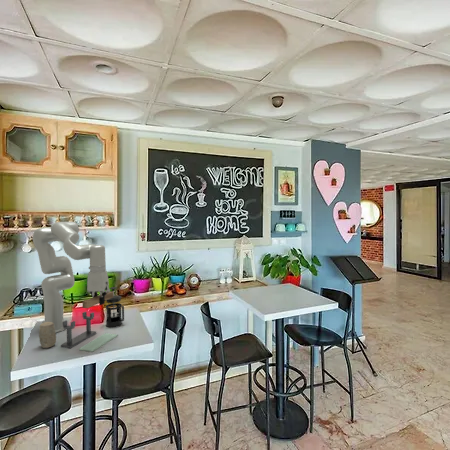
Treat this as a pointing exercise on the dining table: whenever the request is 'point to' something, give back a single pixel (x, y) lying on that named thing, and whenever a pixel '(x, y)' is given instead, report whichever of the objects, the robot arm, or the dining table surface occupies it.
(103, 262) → the robot arm
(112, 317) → the french press
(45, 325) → the carving
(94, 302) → the bar
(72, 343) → the rail stand
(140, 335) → the dining table surface
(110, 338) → the mat
